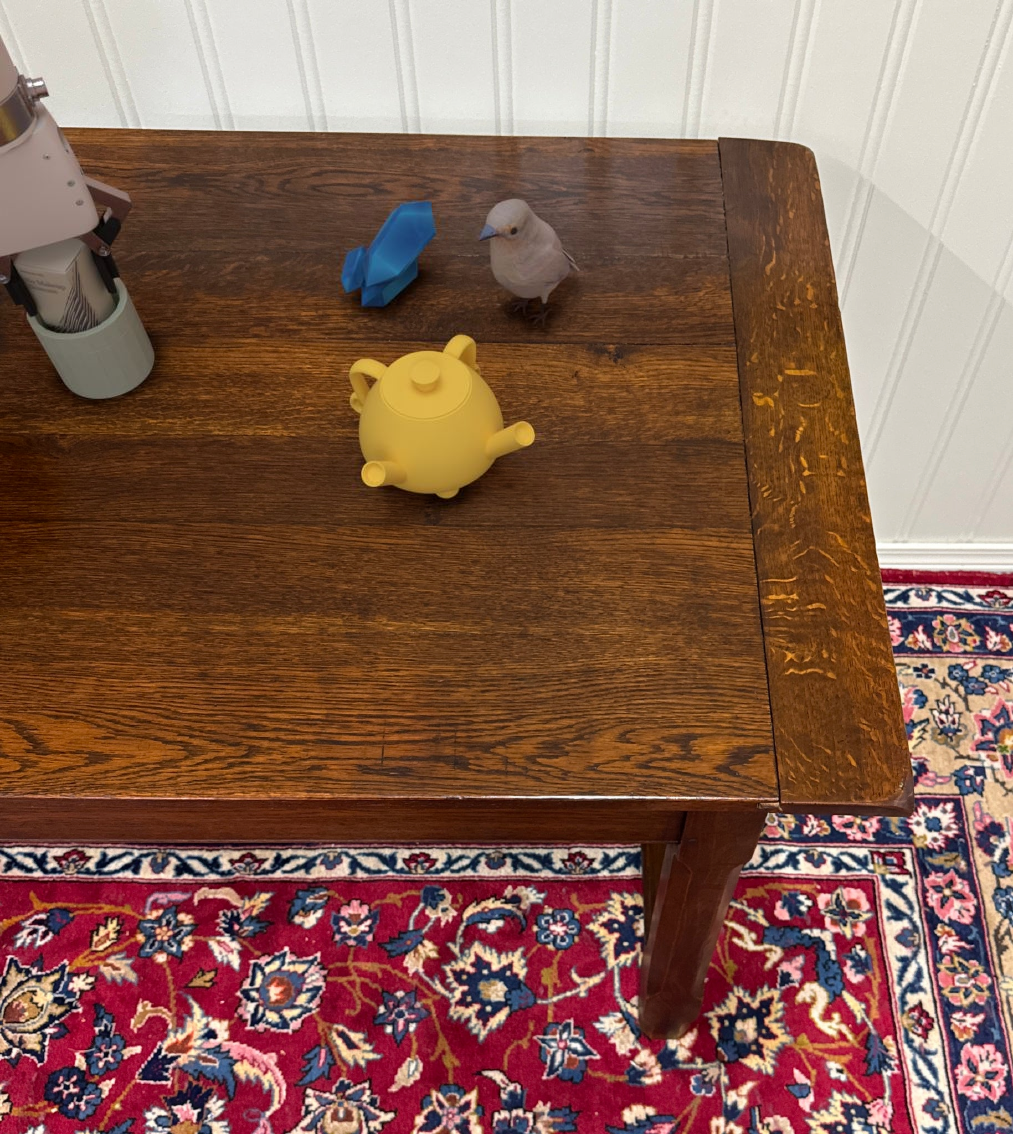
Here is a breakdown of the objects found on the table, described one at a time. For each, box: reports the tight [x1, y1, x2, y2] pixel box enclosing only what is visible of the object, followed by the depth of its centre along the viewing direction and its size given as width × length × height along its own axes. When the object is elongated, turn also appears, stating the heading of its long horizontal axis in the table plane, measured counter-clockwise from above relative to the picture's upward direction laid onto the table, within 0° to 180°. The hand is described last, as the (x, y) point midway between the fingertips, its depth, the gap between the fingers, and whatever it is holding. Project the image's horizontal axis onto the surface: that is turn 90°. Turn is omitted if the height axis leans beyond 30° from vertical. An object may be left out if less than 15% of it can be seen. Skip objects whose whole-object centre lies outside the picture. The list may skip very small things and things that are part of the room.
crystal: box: [340, 200, 437, 307], centre depth 97 cm, size 7×9×12 cm
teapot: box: [348, 334, 536, 499], centre depth 84 cm, size 14×14×11 cm
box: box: [13, 237, 117, 334], centre depth 89 cm, size 5×4×13 cm
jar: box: [26, 277, 155, 400], centre depth 92 cm, size 9×9×8 cm
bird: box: [477, 198, 581, 329], centre depth 92 cm, size 5×14×15 cm, turn 137°
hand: (71, 293), depth 87 cm, fingers closed on box, 6 cm apart
